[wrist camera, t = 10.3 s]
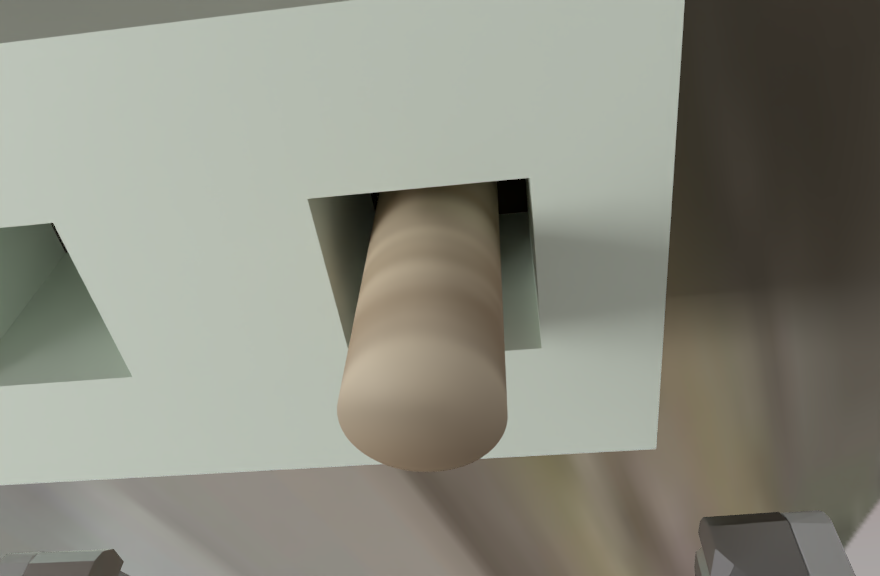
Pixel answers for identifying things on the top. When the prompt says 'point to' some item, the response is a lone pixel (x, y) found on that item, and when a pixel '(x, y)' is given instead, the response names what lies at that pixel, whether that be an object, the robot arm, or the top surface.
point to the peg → (428, 332)
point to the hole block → (315, 217)
